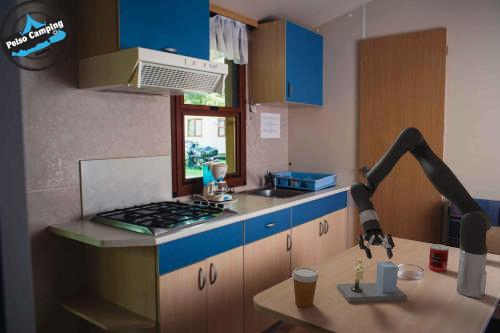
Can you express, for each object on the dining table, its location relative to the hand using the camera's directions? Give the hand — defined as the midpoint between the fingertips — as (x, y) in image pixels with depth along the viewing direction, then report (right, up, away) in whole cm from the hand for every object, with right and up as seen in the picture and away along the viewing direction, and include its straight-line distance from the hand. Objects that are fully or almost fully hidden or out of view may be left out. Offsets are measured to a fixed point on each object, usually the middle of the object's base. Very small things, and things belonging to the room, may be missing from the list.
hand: (380, 258), depth 158 cm
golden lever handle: (-12, -10, -11) cm, 20 cm away
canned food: (+34, -11, +23) cm, 43 cm away
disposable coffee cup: (-33, -13, -15) cm, 38 cm away
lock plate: (-6, -13, -5) cm, 15 cm away
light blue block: (0, -11, -5) cm, 12 cm away
